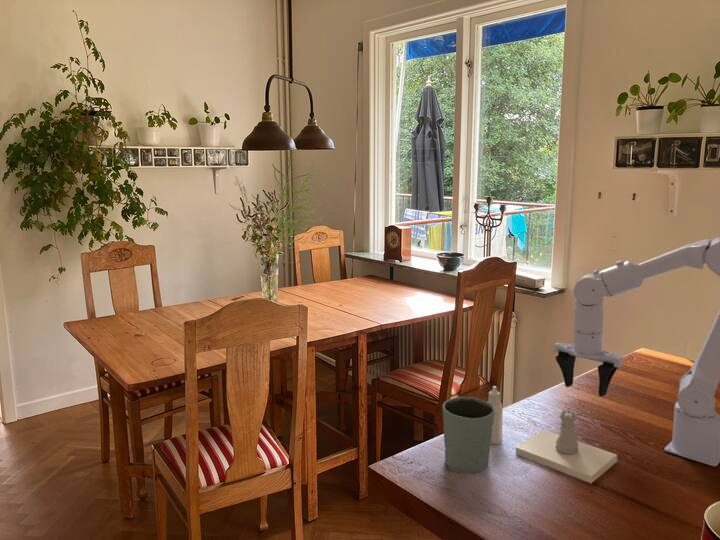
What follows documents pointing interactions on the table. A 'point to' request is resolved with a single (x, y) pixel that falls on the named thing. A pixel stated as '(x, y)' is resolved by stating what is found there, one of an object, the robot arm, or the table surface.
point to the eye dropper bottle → (496, 416)
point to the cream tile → (567, 457)
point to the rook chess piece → (567, 434)
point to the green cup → (467, 433)
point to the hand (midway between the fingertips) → (585, 390)
